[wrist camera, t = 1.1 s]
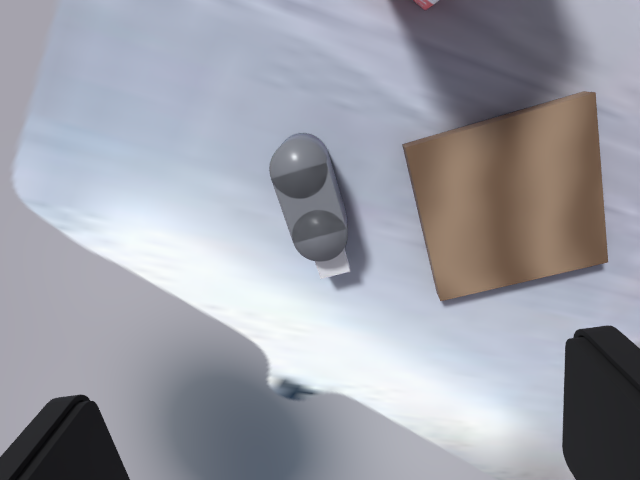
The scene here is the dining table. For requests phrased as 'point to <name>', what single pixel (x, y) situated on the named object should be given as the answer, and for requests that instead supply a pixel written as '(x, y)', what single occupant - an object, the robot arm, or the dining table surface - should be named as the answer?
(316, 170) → the grey double dome block
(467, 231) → the walnut board
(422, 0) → the ink cartridge box
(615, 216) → the dining table surface
